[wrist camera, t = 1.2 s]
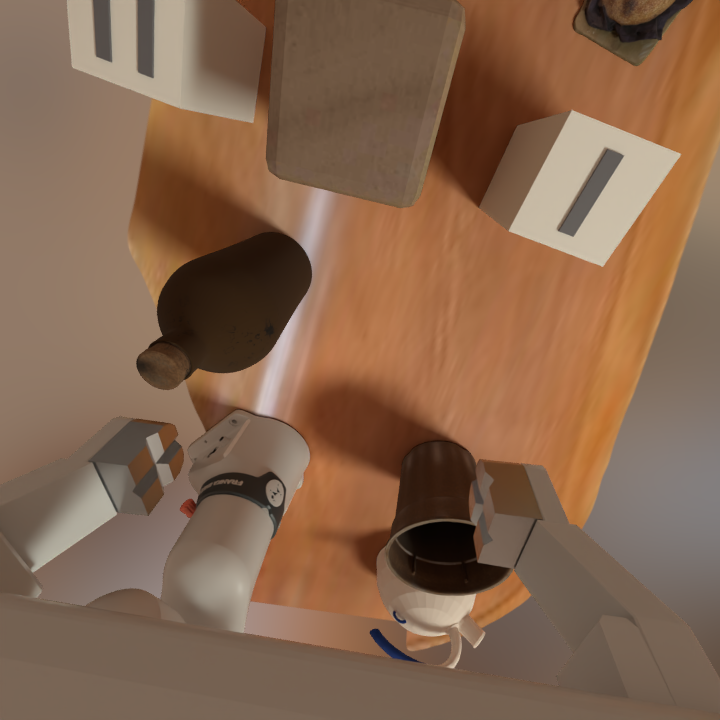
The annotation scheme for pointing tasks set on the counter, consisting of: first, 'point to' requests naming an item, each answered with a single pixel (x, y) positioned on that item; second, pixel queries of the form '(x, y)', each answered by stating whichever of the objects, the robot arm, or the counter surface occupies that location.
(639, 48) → the bread roll
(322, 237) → the counter surface
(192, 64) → the marked block two
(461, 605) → the kettle
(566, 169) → the marked block one
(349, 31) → the block
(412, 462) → the plant pot
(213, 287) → the olive oil
